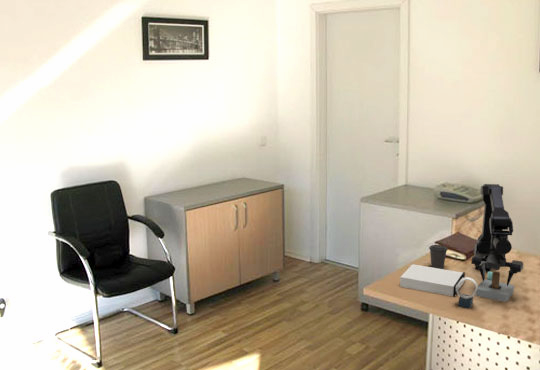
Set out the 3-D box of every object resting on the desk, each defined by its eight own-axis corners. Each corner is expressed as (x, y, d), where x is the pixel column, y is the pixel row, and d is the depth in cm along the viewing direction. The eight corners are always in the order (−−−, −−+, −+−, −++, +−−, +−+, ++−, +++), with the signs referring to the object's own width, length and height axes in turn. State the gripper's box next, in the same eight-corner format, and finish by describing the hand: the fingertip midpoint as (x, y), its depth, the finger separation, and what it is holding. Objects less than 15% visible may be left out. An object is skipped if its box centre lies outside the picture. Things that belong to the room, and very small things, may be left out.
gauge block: (475, 295, 244) (475, 288, 243) (483, 286, 253) (483, 279, 253) (507, 302, 237) (507, 295, 237) (513, 291, 247) (514, 285, 246)
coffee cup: (432, 262, 281) (433, 242, 279) (449, 266, 276) (450, 245, 274) (425, 268, 274) (426, 246, 272) (442, 271, 270) (444, 250, 268)
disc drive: (454, 298, 243) (455, 286, 242) (399, 287, 254) (400, 276, 252) (464, 283, 258) (465, 272, 257) (412, 274, 269) (412, 263, 267)
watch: (456, 300, 239) (457, 273, 237) (477, 304, 236) (479, 277, 233) (453, 305, 234) (454, 278, 232) (474, 309, 231) (476, 282, 228)
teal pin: (486, 284, 255) (486, 273, 254) (487, 282, 258) (488, 271, 256) (493, 285, 254) (493, 274, 253) (494, 283, 256) (495, 272, 255)
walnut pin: (490, 294, 245) (491, 273, 243) (491, 292, 247) (493, 271, 245) (497, 295, 243) (499, 274, 241) (499, 293, 246) (500, 272, 244)
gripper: (468, 247, 239) (466, 285, 243) (519, 255, 229) (515, 294, 233) (476, 240, 248) (473, 276, 252) (525, 247, 238) (521, 285, 242)
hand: (495, 283), depth 244 cm, fingers open, 9 cm apart
